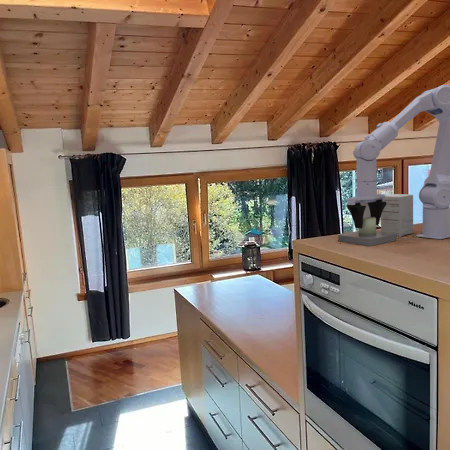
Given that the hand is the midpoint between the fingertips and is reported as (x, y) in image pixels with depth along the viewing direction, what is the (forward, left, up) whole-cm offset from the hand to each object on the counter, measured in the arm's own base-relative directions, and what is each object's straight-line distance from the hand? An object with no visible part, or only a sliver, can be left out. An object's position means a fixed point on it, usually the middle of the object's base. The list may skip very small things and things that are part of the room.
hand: (367, 226), depth 131 cm
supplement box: (-16, -1, -5) cm, 17 cm away
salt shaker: (-13, -11, -5) cm, 18 cm away
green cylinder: (0, 0, -2) cm, 2 cm away
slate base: (0, 0, -4) cm, 4 cm away
